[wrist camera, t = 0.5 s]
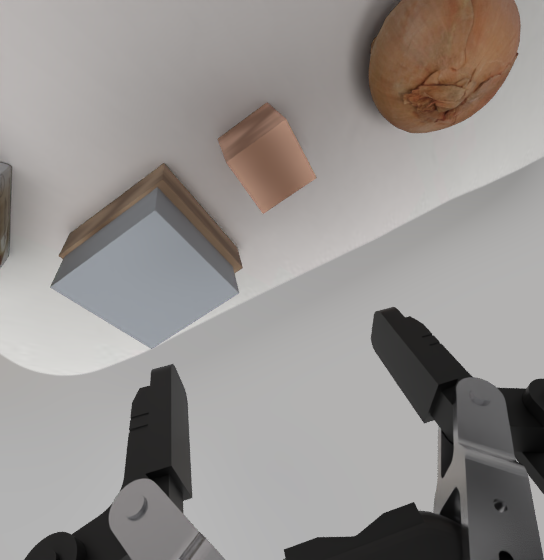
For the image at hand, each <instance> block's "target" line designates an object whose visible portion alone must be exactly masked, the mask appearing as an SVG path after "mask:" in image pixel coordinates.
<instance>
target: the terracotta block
mask: <svg viewBox="0 0 544 560" xmlns="http://www.w3.org/2000/svg"><path fill="white" fill-rule="evenodd" d="M218 141H219V144H220V147H221V149H222V152H223V155H224V158H225V160H226V163H227V164H228V166H229V167H230V168H231V170H232V171H233V173H234V174H235V175H236V177H237V178H238V180H239V181H240V182H241V184H242V185H243V187H244V188H245V189H246V191H247V192H248V194H249V195H250V196H251V198H252V199H253V201H254V202H255V203H256V205H257V206H258V208H259V209H260V210H261V212H262V213H263V214H264V213H265V212H267V211H268V210H270V209H271V208H273V207H274V206H276V205H277V204H278V203H280V202H281V201H283V200H284V199H286V198H287V197H289V196H290V195H292V194H293V193H295V192H296V191H298V190H299V189H301V188H302V187H304V186H305V185H307V184H308V183H310V182H311V181H313V180H314V179H316V176H315V174H314V172H313V170H312V168H311V166H310V164H309V162H308V160H307V158H306V156H305V154H304V153H303V151H302V149H301V147H300V145H299V143H298V141H297V139H296V137H295V135H294V133H293V131H292V129H291V127H290V125H289V124H288V122H287V120H286V118H284V117H283V116H282V115H281V114H280V113H279V112H278V111H276V110H275V109H274V108H273V107H272V106H271V105H269V104H268V103H265V104H264V105H263V106H261V107H260V108H259V109H257V110H256V111H255V112H253V113H252V114H251V115H249V116H248V117H247V118H245V119H244V120H243V121H241V122H240V123H238V124H237V125H236V126H234V127H233V128H232V129H230V130H229V131H228V132H226V133H225V134H224V135H222V136H221V137H220V138H218Z"/></svg>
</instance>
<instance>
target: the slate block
mask: <svg viewBox="0 0 544 560" xmlns="http://www.w3.org/2000/svg"><path fill="white" fill-rule="evenodd" d="M50 288H52V289H54V290H55V291H57V292H59V293H60V294H62V295H64V296H65V297H67V298H68V299H70V300H72V301H73V302H75V303H77V304H78V305H80V306H82V307H83V308H85V309H87V310H88V311H90V312H92V313H93V314H95V315H97V316H98V317H100V318H101V319H103V320H105V321H106V322H108V323H110V324H111V325H113V326H115V327H116V328H118V329H120V330H121V331H123V332H125V333H126V334H128V335H130V336H131V337H133V338H134V339H136V340H138V341H139V342H141V343H143V344H144V345H146V346H148V347H149V348H151V349H152V348H154V347H155V346H157V345H159V344H160V343H162V342H163V341H165V340H166V339H168V338H170V337H171V336H173V335H174V334H176V333H177V332H179V331H181V330H182V329H184V328H185V327H187V326H188V325H190V324H192V323H193V322H195V321H196V320H198V319H199V318H201V317H202V316H204V315H206V314H207V313H209V312H210V311H212V310H213V309H215V308H217V307H218V306H220V305H221V304H223V303H224V302H226V301H228V300H229V299H231V298H232V297H234V296H235V295H237V294H238V293H239V291H238V286H237V282H236V278H235V274H234V270H233V266H232V265H231V264H230V263H229V262H228V261H227V260H226V259H225V258H224V257H223V256H222V255H221V254H220V253H219V252H218V250H217V249H216V248H215V247H214V246H213V245H212V244H211V243H210V242H209V241H208V240H207V239H206V238H205V237H204V236H203V235H202V234H201V232H200V231H199V230H198V229H197V228H196V227H195V226H194V225H193V224H192V223H191V222H190V221H189V220H188V219H187V218H186V217H185V216H184V214H183V213H182V212H181V211H180V210H179V209H178V208H177V207H176V206H175V205H174V204H173V203H172V202H171V201H170V200H169V199H168V198H167V197H166V195H165V194H164V193H163V192H162V191H161V190H160V189H159V188H158V187H157V188H155V189H154V190H153V191H151V192H150V193H149V194H147V195H146V196H145V197H143V198H142V199H141V200H139V201H138V202H137V203H135V204H134V205H133V206H131V207H130V208H129V209H127V210H126V211H125V212H123V213H122V214H121V215H119V216H118V217H117V218H115V219H114V220H113V221H111V222H110V223H109V224H107V225H106V226H105V227H103V228H102V229H101V230H99V231H98V232H97V233H95V234H94V235H93V236H91V237H90V238H89V239H88V240H86V241H85V242H84V243H82V244H81V245H80V246H78V247H77V248H76V249H74V250H73V251H72V252H70V253H69V254H68V255H66V256H65V257H64V259H63V261H62V263H61V265H60V267H59V269H58V272H57V274H56V276H55V278H54V280H53V282H52V284H51V287H50Z"/></svg>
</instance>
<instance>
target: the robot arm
mask: <svg viewBox="0 0 544 560" xmlns="http://www.w3.org/2000/svg"><path fill="white" fill-rule="evenodd" d="M371 341H372V345H373V348H374V350H375V352H376V354H377V355H378V356H379V358H380V359H381V361H382V362H383V364H384V365H385V367H386V368H387V369H388V371H389V372H390V374H391V375H392V377H393V378H394V380H395V381H396V383H397V384H398V386H399V387H400V389H401V390H402V391H403V393H404V395H405V396H406V397H407V399H408V400H409V402H410V403H411V405H412V406H413V408H414V409H415V411H416V412H417V414H418V415H419V416H420V418H421V419H422V421H423V422H424V423H427V422H430V421H433V420H435V421H436V423H437V424H438V425H439V429H438V481H437V488H436V493H435V499H434V513H431V512H425V511H418V509H417V508H416V505H415V503H414V502H413V503H410V504H408V505H405V506H402V507H399V508H397V509H394V510H391V511H389V512H386V513H383V514H382V515H381V516H380V517H379V518H377V519H376V520H375V521H374V522H373V523H371V524H370V525H369V526H368V527H366V528H365V529H364V530H363V531H362V532H361V533H359V534H358V535H356V536H354V537H317V538H315V539H312V540H309V541H306V542H304V543H301V544H298V545H296V546H293V547H290V548H287V549H284V552H285V557H286V558H285V559H283V560H544V558H543V553H542V548H541V542H540V537H539V531H538V526H537V521H536V516H535V510H534V505H533V499H532V494H531V489H530V484H529V478H528V474H529V476H530V477H531V479H532V480H533V481H534V482H535V484H536V485H537V486H538V487H539V489H540V490H541V491H542V493H543V494H544V379H536V380H534V381H532V382H531V383H530V384H529V386H528V387H527V389H519V388H516V389H515V388H496V387H495V386H494V385H492V384H491V383H489V382H488V381H485V380H483V379H480V378H474V377H472V376H471V375H470V374H469V373H468V372H467V371H466V370H465V369H464V368H463V367H462V366H461V364H460V363H459V362H458V361H457V360H456V359H455V358H454V357H453V356H452V355H451V354H450V353H449V351H448V350H446V348H445V347H444V346H443V345H442V344H440V343H439V341H438V340H437V339H436V338H435V336H432V333H431V332H430V331H429V330H428V329H427V328H426V327H425V326H424V325H423V324H422V323H420V322H419V321H417V320H415V319H414V318H412V317H410V316H409V317H406V318H405V317H404V316H403V315H402V314H401V313H400V311H399V310H398V309H396V308H395V307H391V308H388V309H384V310H380V311H376V312H375V314H374V319H373V327H372V334H371ZM129 430H130V433H129V437H128V446H127V455H126V464H125V465H126V466H125V474H124V481H123V485H122V488H121V490H120V492H119V493H118V495H117V496H116V498H115V499H114V502H113V503H112V504H111V506H110V507H109V508H108V509H107V510H106V511H105V512H103V513H102V514H101V515H100V516H98V517H97V518H95V519H94V520H92V521H91V522H89V523H88V524H86V525H85V526H83V527H82V528H80V529H79V530H78V531H76V532H75V533H73V534H72V535H71V534H69V533H66V532H57V533H54V534H51V535H49V536H47V537H46V538H44V539H43V540H42V541H40V542H39V543H38V544H37V545H36V546H35V547H34V548H33V549H32V550H31V551H30V553H29V554H28V555H27V557H26V558H25V560H225V559H224V558H223V557H222V555H221V554H220V553H219V552H218V551H217V550H216V549H215V548H214V546H213V545H212V544H211V543H210V542H209V541H208V540H207V539H206V538H205V537H204V536H203V535H202V534H201V533H200V532H199V531H198V530H197V529H196V528H195V527H194V525H193V524H192V523H191V522H190V521H189V520H188V519H187V518H186V517H185V515H184V514H183V501H184V500H187V499H190V498H192V485H191V463H190V443H189V424H188V403H187V396H186V392H185V389H184V386H183V384H182V382H181V379H180V377H179V375H178V373H177V370H176V368H175V366H174V365H173V364H171V365H168V366H164V367H160V368H156V369H153V370H152V371H151V381H150V386H147V387H143V388H140V389H139V391H138V392H137V394H136V397H135V398H134V400H133V402H132V409H131V421H130V428H129ZM515 458H516V459H517V461H518V462H519V463H518V462H517V461H516V459H515ZM527 473H528V474H527Z"/></svg>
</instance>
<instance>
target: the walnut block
mask: <svg viewBox="0 0 544 560" xmlns="http://www.w3.org/2000/svg"><path fill="white" fill-rule="evenodd" d="M157 187H158V188H159V189H160V190H161V191H162V192H163V193H164V194H165V195H166V197H167V198H168V199H169V200H170V201H171V202H172V203H173V204H174V205H175V206H176V207H177V208H178V209H179V210H180V211H181V212H182V213H183V214H184V216H185V217H186V218H187V219H188V220H189V221H190V222H191V223H192V224H193V225H194V226H195V227H196V228H197V229H198V230H199V231H200V232H201V234H202V235H203V236H204V237H205V238H206V239H207V240H208V241H209V242H210V243H211V244H212V245H213V246H214V247H215V248H216V249H217V250H218V252H219V253H220V254H221V255H222V256H223V257H224V258H225V259H226V260H227V261H228V262H229V263H230V264H231V265H232V266H233V270H234V273H236V272H237V271H239V270H240V269H242V268H243V267H242V263H241V260H240V256H239V252H238V249H237V247H236V246H235V245H234V244H233V243H232V241H231V240H230V239H229V238H228V237H227V236H226V234H225V233H224V232H223V231H222V230H221V229H220V227H219V226H218V225H217V224H216V223H215V222H214V221H213V219H212V218H211V217H210V216H209V215H208V214H207V212H206V211H205V210H204V209H203V208H202V207H201V205H200V204H199V203H198V202H197V201H196V200H195V198H194V197H193V196H192V195H191V194H190V193H189V192H188V190H187V189H186V188H185V187H184V186H183V185H182V183H181V182H180V181H179V180H178V179H177V178H176V176H175V175H174V174H173V173H172V172H171V171H170V170H169V168H168V167H167V166H166V165H165V164H164V163H163V164H162V165H161V166H159V167H158V168H157V169H155V170H154V171H153V172H151V173H150V174H149V175H147V176H146V177H145V178H143V179H142V180H141V181H139V182H138V183H137V184H135V185H134V186H133V187H131V188H130V189H129V190H127V191H126V192H125V193H123V194H122V195H121V196H119V197H118V198H117V199H115V200H114V201H113V202H111V203H110V204H109V205H107V206H106V207H105V208H103V209H102V210H101V211H99V212H98V213H97V214H95V215H94V216H93V217H91V218H90V219H89V220H87V221H86V222H85V223H83V224H82V225H81V226H79V227H78V228H77V229H75V230H74V231H73V232H71V233H70V234H69V236H68V238H67V240H66V242H65V244H64V246H63V248H62V250H61V252H60V254H59V257H61V258H62V259H64V257H65V256H66V255H68V254H69V253H70V252H72V251H73V250H74V249H76V248H77V247H78V246H80V245H81V244H82V243H84V242H85V241H86V240H88V239H89V238H90V237H91V236H93V235H94V234H95V233H97V232H98V231H99V230H101V229H102V228H103V227H105V226H106V225H107V224H109V223H110V222H111V221H113V220H114V219H115V218H117V217H118V216H119V215H121V214H122V213H123V212H125V211H126V210H127V209H129V208H130V207H131V206H133V205H134V204H135V203H137V202H138V201H139V200H141V199H142V198H143V197H145V196H146V195H147V194H149V193H150V192H151V191H153V190H154V189H155V188H157Z"/></svg>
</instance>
